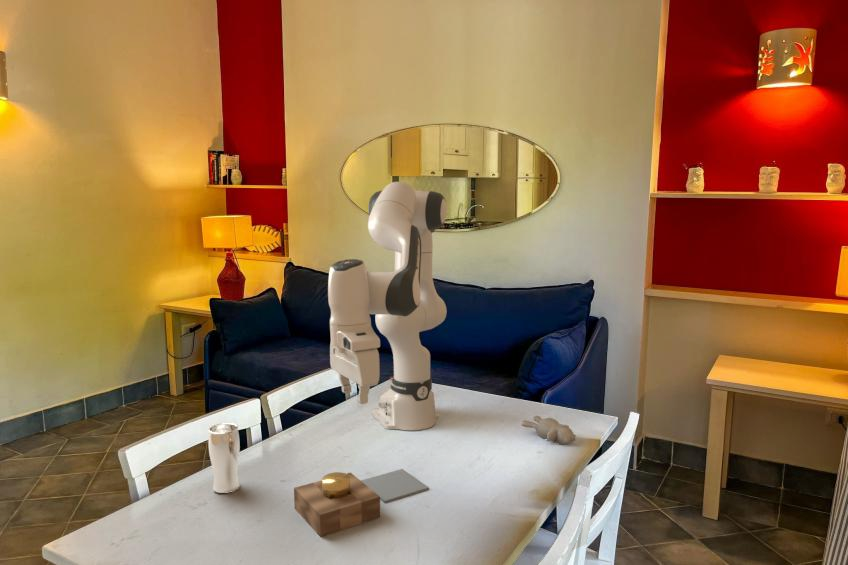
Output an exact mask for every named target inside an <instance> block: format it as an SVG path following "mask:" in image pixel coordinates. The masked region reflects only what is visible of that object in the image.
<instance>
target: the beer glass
mask: <svg viewBox="0 0 848 565" xmlns="http://www.w3.org/2000/svg"><path fill="white" fill-rule="evenodd" d="M240 448H241V446H240V434H239V426H238V425H237V424H236V423H231V422H224V423H223V422H222V423H217V424H214V425H212V426H210V427H209V429H208V454H209V459H210V464H211V466H212V471H213V483H212V491H213V490H215V491H216V492H223V493H226V492H230V491H234V490H236V489H237V488H238V487H239V488H240V482H239V478H238V466H239V465H238V464H239V457H240V450H241V449H240ZM239 488H238V489H239ZM238 489H237V490H238ZM237 490H236V491H237ZM234 492H235V491H234Z"/></svg>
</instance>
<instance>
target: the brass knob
mask: <svg viewBox="0 0 848 565" xmlns="http://www.w3.org/2000/svg"><path fill="white" fill-rule="evenodd" d="M321 480H322V493H323V495H324V496H326V497H328V498H329V499H330V500H332V499H335V498H340V497H344V496H346V495H348V494H349V493H350V476H349V475H348V474H347V473H346V472H339V471H338V472H330V473H327V474H325V475H324V476H323V477H322V479H321Z"/></svg>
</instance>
